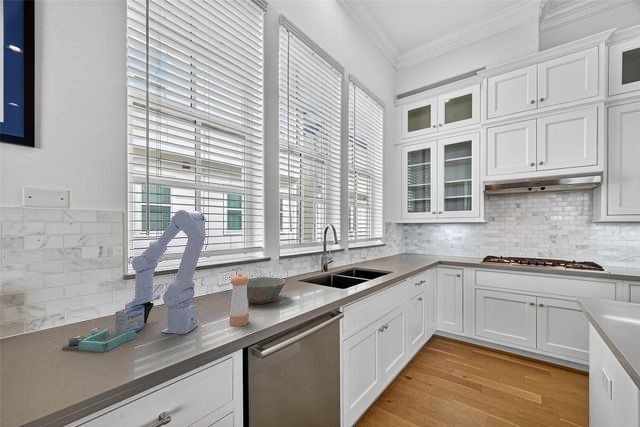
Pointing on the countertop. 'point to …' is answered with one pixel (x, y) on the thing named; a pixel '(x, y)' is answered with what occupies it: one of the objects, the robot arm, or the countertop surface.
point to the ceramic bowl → (264, 289)
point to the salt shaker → (239, 301)
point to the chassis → (98, 341)
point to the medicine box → (129, 320)
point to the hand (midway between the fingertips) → (143, 323)
